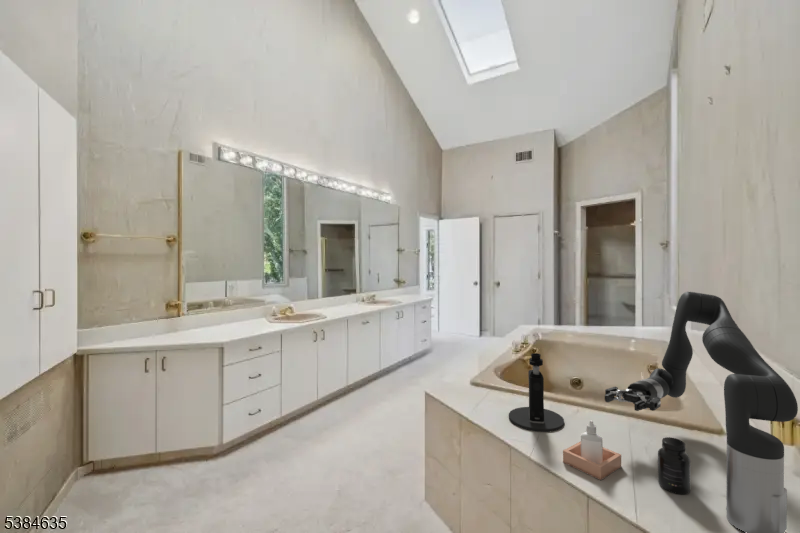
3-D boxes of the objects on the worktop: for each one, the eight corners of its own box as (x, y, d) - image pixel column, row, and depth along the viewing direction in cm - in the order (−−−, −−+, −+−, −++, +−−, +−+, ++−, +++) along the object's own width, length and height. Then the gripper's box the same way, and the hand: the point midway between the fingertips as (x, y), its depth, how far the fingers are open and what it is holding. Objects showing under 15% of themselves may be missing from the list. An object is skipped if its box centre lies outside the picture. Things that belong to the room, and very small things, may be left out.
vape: (509, 429, 133) (508, 358, 132) (507, 407, 151) (506, 345, 151) (568, 434, 128) (568, 360, 127) (559, 411, 147) (558, 346, 146)
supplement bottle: (659, 476, 103) (659, 432, 103) (691, 485, 99) (691, 439, 98) (656, 488, 98) (656, 442, 97) (689, 499, 93) (689, 450, 93)
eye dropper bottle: (597, 469, 106) (597, 426, 106) (578, 460, 111) (577, 419, 110) (605, 463, 109) (605, 422, 108) (586, 455, 113) (586, 415, 113)
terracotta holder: (621, 466, 108) (621, 454, 108) (600, 480, 102) (600, 467, 102) (584, 450, 117) (584, 439, 117) (563, 462, 111) (562, 450, 111)
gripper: (622, 375, 130) (597, 384, 121) (670, 386, 118) (646, 397, 109) (622, 397, 130) (597, 408, 121) (670, 410, 118) (646, 423, 109)
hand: (620, 403), depth 115 cm, fingers open, 8 cm apart
